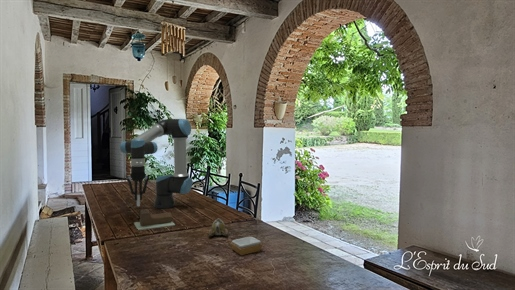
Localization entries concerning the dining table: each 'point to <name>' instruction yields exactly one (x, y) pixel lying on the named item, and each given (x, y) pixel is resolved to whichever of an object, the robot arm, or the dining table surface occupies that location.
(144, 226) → the mat
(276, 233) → the dining table surface
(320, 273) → the dining table surface
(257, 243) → the soap dish
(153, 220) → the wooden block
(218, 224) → the ceramic sculpture
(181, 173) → the robot arm
